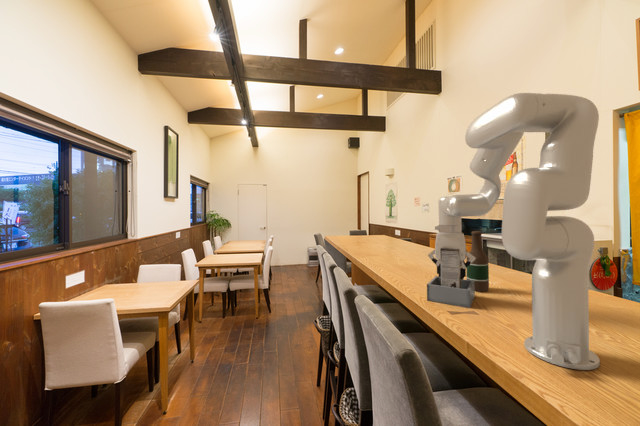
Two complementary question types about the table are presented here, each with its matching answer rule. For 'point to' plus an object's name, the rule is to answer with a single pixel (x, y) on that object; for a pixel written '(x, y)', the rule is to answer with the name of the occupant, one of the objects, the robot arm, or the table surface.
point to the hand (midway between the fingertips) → (451, 277)
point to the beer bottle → (478, 264)
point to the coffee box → (450, 267)
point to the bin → (451, 293)
